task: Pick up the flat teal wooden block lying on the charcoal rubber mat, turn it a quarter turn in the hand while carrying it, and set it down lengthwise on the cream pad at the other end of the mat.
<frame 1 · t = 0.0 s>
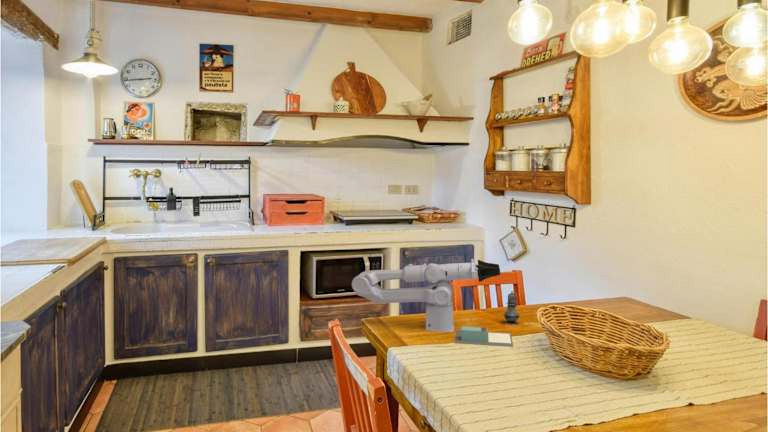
hand: (499, 269, 167), 22 cm above the table, tool horizontal, fingers open, 7 cm apart
mat: (483, 339, 161), on the table
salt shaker: (511, 324, 180), on the table
teal block: (474, 339, 160), point 1 cm above the table, touching mat
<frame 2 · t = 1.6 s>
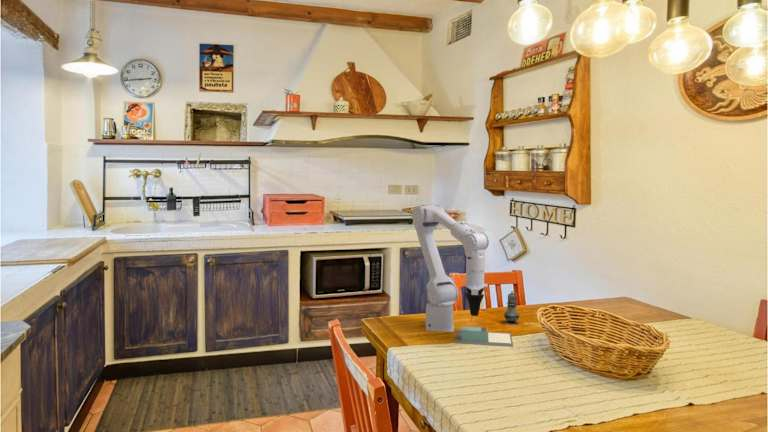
hand: (474, 312, 159), 9 cm above the table, tool pointing down, fingers open, 7 cm apart
nothing on the table moved.
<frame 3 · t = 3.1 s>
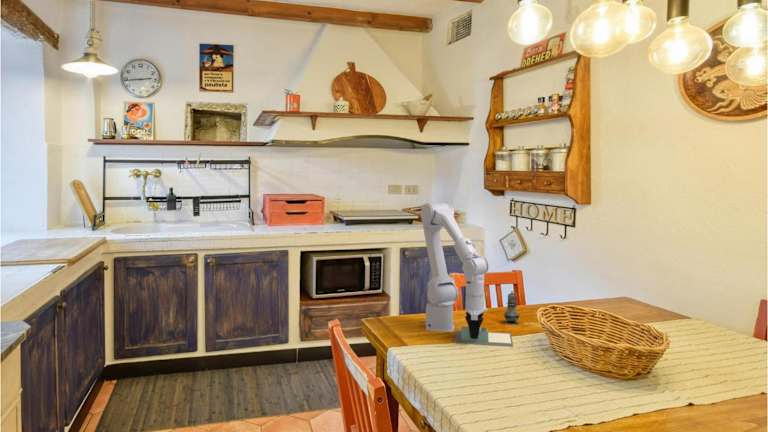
hand: (474, 336, 159), 2 cm above the table, tool pointing down, fingers closed on teal block, 4 cm apart
teal block: (474, 339, 160), point 1 cm above the table, touching gripper, mat
everything else where it was.
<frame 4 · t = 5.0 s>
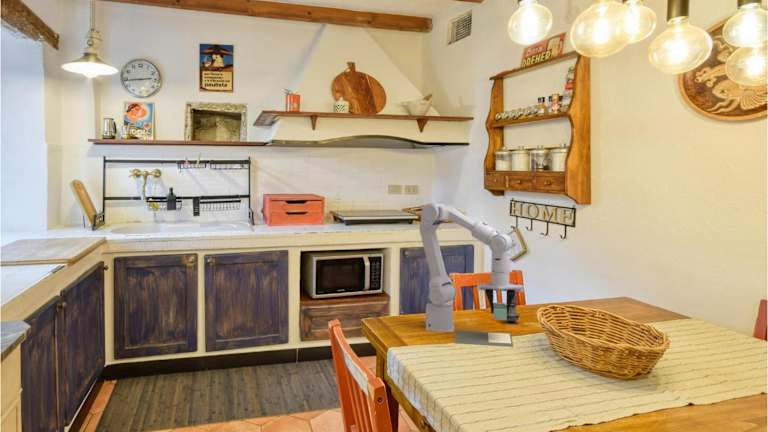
hand: (499, 312, 160), 9 cm above the table, tool pointing down, fingers closed on teal block, 4 cm apart
teal block: (499, 316, 160), point 8 cm above the table, touching gripper
everything else where it was.
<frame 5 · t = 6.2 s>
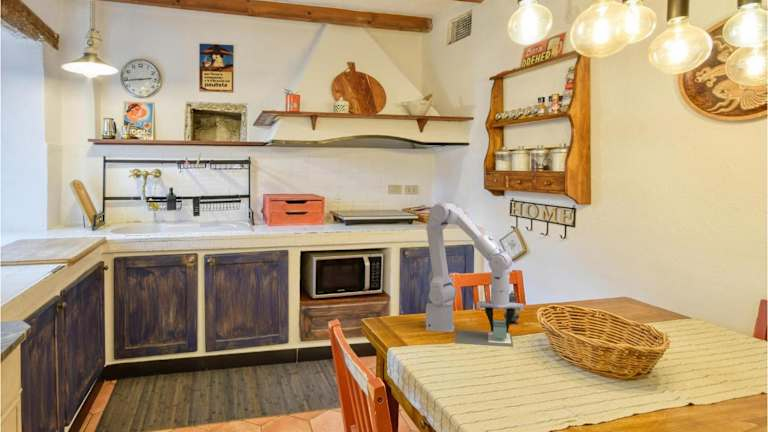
hand: (499, 331, 161), 3 cm above the table, tool pointing down, fingers closed on teal block, 4 cm apart
teal block: (499, 334, 161), point 2 cm above the table, touching gripper
everything else where it was.
when the fingers open (3 cm above the table, at t = 7.0 s): teal block drops 1 cm, resting on mat.
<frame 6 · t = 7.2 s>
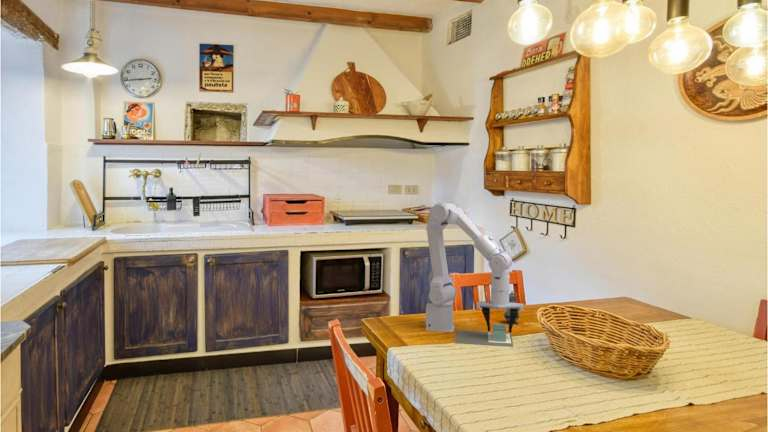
hand: (499, 331, 161), 3 cm above the table, tool pointing down, fingers open, 6 cm apart
teal block: (499, 337, 161), point 1 cm above the table, touching mat
everything else where it was.
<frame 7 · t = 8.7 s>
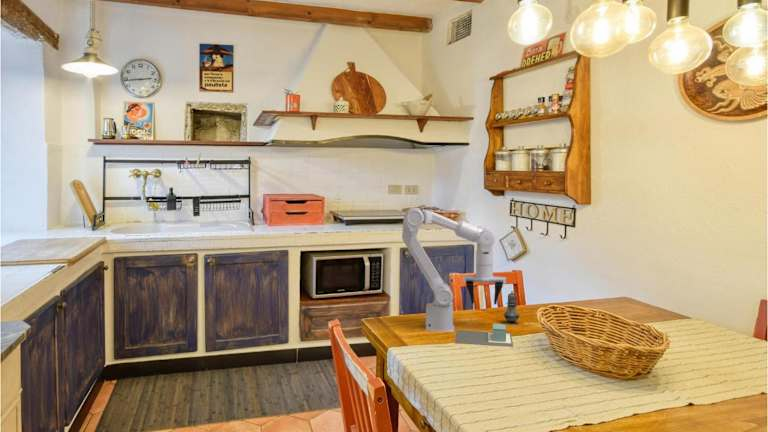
hand: (483, 303, 171), 9 cm above the table, tool pointing down, fingers open, 7 cm apart
nothing on the table moved.
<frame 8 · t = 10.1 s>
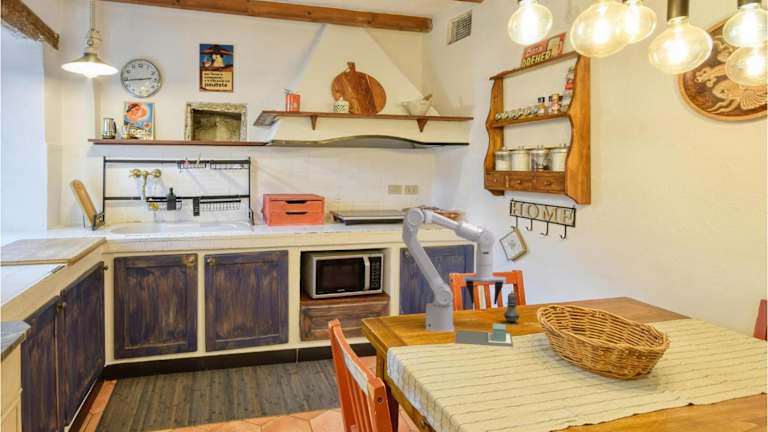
hand: (483, 303, 171), 9 cm above the table, tool pointing down, fingers open, 7 cm apart
nothing on the table moved.
at the end: teal block 0.0 cm from the target spot on the mat, point 0.7 cm above the mat's base; teal block tilted 0°; the gripper is holding nothing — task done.
